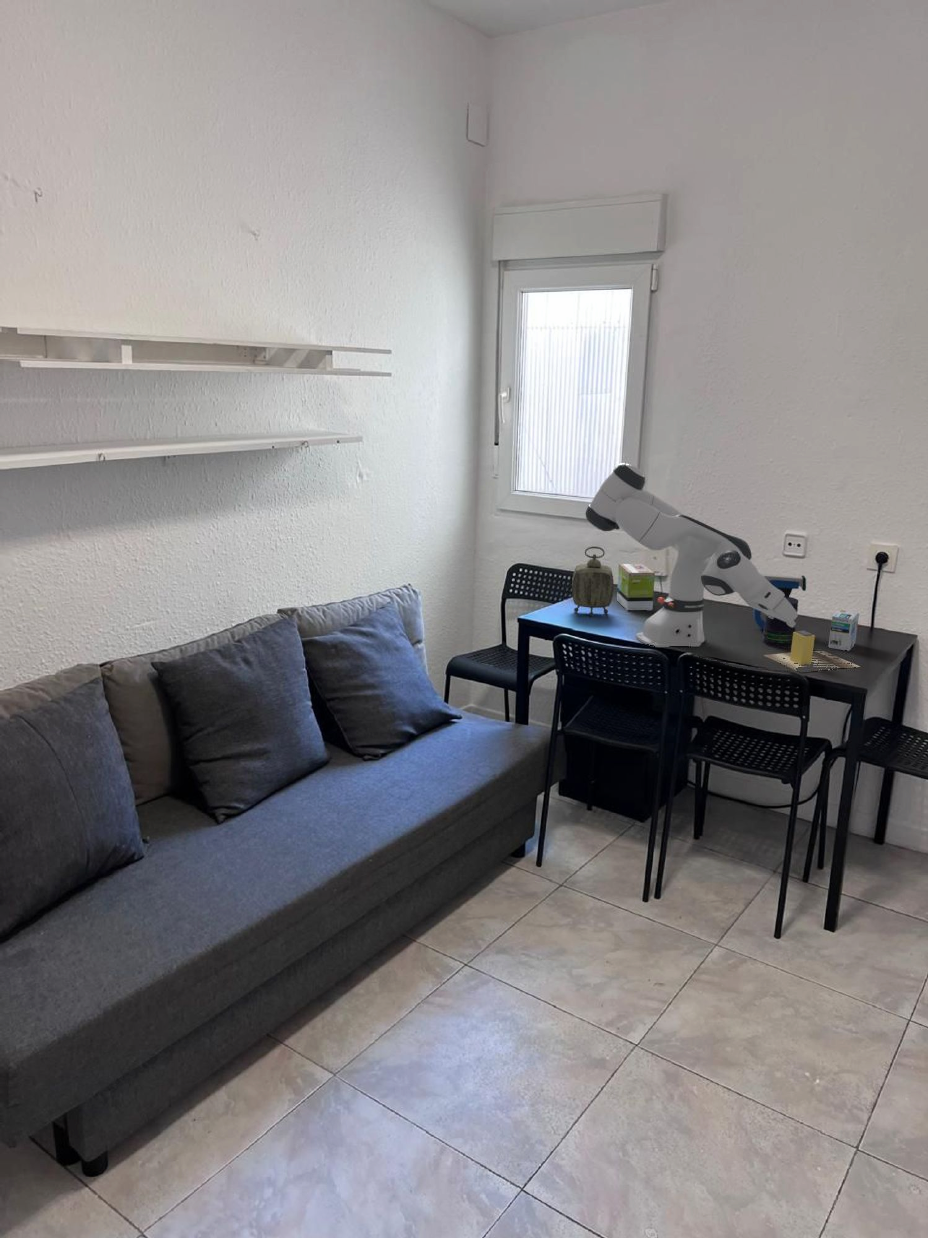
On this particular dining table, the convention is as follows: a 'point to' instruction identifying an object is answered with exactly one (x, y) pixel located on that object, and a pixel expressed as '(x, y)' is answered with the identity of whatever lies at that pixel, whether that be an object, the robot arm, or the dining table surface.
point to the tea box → (635, 586)
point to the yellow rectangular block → (802, 647)
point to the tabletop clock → (592, 584)
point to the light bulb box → (843, 630)
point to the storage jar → (779, 629)
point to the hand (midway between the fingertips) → (782, 620)
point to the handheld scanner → (785, 586)
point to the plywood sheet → (793, 666)
